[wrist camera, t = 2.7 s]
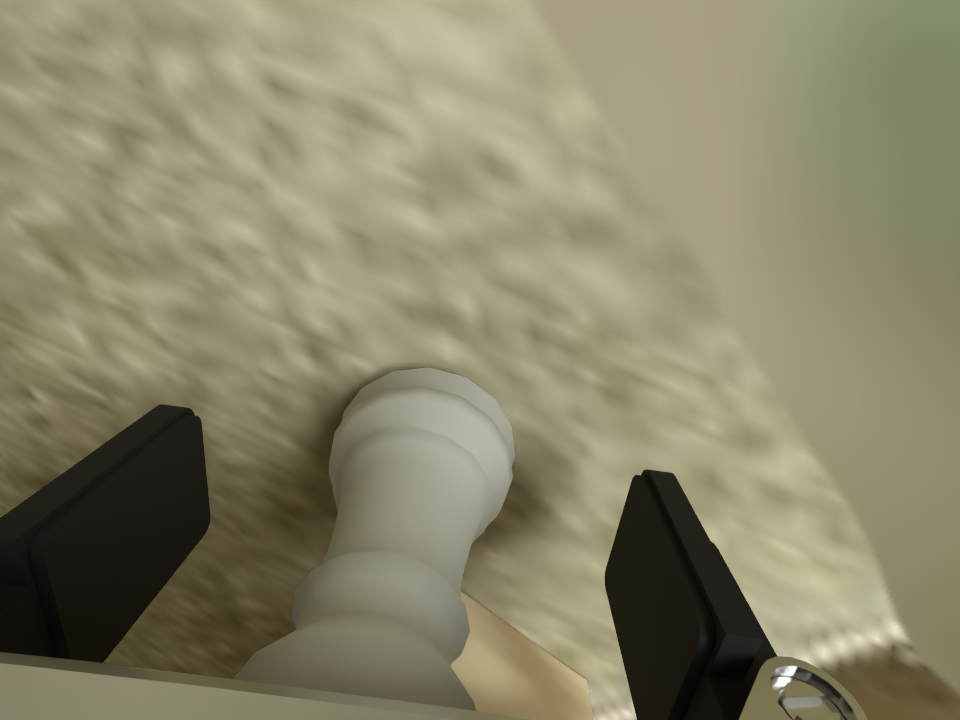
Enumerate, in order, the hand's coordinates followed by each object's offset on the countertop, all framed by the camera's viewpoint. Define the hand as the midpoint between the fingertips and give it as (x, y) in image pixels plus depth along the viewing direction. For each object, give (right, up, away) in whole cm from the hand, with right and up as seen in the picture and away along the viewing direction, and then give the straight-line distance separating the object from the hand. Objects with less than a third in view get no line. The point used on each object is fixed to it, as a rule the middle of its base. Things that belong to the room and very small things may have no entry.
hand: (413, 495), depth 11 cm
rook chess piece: (0, +1, +2) cm, 2 cm away
